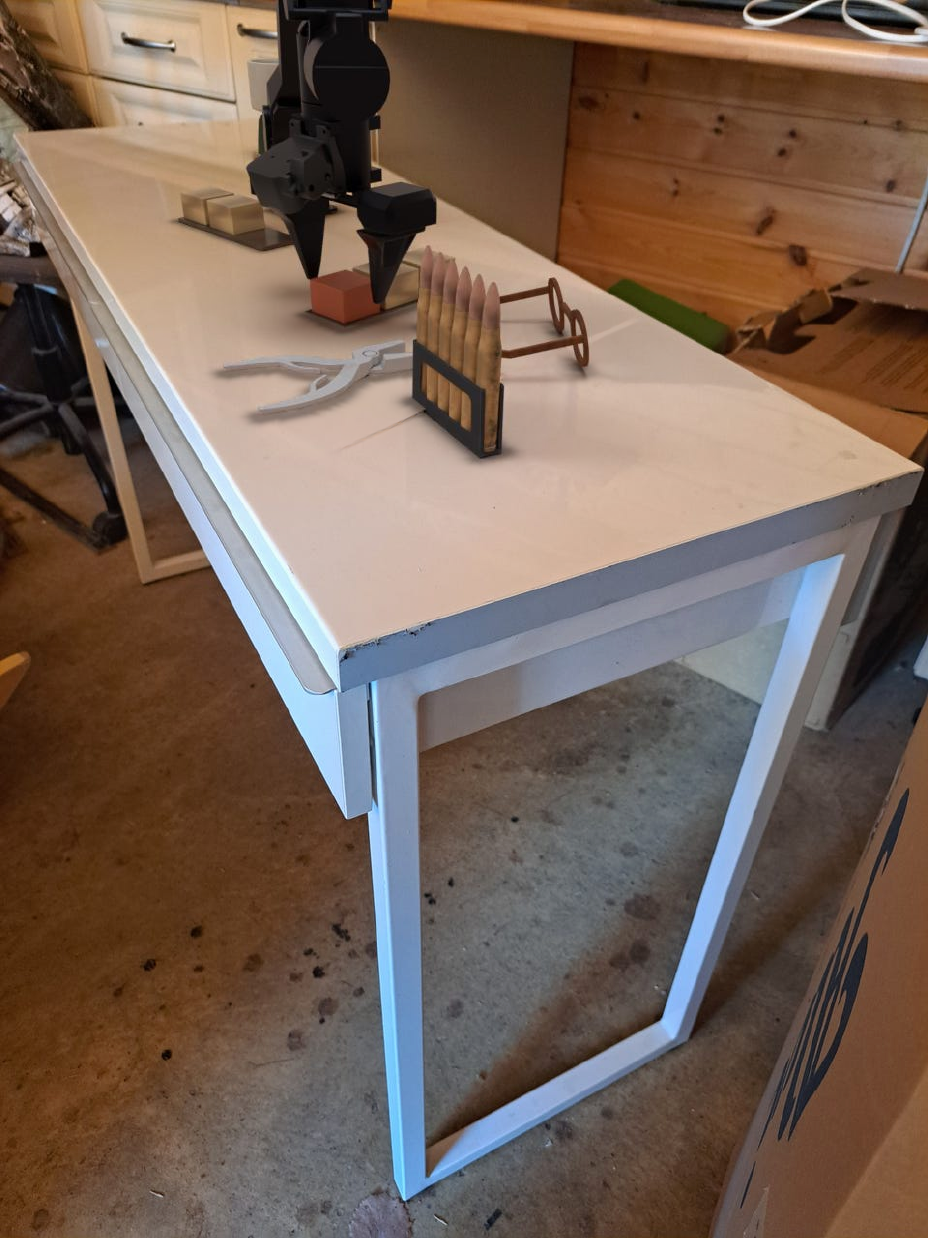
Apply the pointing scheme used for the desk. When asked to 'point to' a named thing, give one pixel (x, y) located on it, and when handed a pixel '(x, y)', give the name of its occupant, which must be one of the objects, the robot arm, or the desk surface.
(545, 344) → the glasses
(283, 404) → the pliers
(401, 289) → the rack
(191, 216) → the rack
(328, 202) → the robot arm
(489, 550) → the desk surface
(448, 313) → the ammunition clip
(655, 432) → the desk surface
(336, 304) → the red block
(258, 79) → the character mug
